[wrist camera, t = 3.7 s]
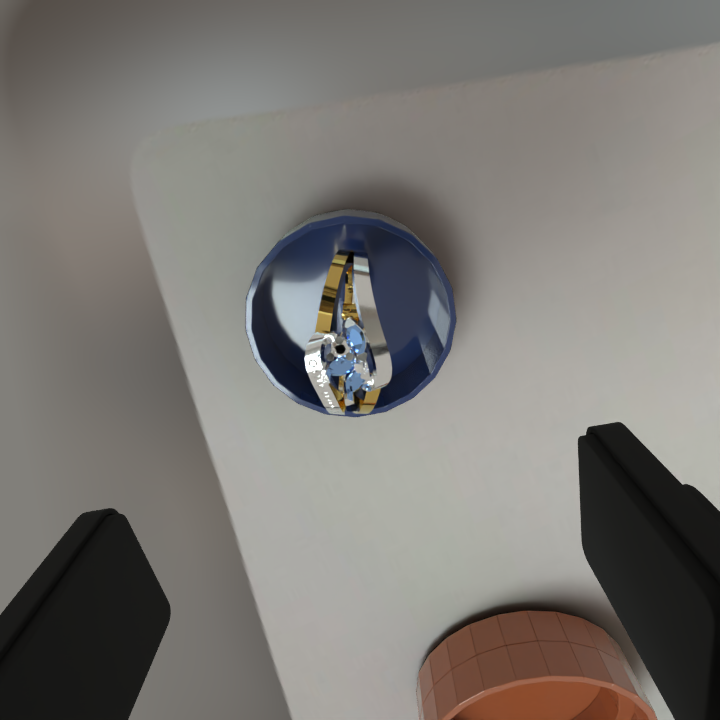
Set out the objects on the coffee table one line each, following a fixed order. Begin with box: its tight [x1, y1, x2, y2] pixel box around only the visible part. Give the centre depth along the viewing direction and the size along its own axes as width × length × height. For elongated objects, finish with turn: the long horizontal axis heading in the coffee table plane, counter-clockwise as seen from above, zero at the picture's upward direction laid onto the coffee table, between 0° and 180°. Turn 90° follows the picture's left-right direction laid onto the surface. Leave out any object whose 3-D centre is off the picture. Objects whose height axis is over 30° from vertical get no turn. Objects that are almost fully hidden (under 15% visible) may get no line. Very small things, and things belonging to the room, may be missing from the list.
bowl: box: [416, 611, 658, 720], centre depth 33 cm, size 15×15×5 cm
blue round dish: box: [246, 209, 456, 417], centre depth 23 cm, size 9×9×3 cm
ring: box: [305, 248, 392, 415], centre depth 20 cm, size 7×3×8 cm, turn 174°
